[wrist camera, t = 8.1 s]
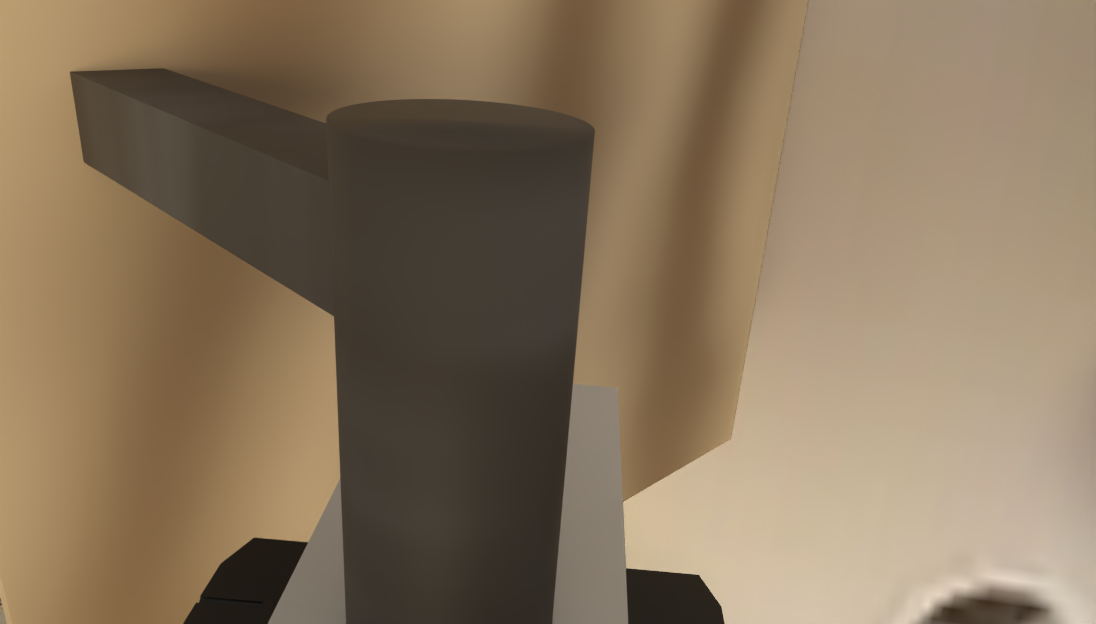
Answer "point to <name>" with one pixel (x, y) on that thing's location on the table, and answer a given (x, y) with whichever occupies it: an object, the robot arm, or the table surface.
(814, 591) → the table surface
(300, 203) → the lid
